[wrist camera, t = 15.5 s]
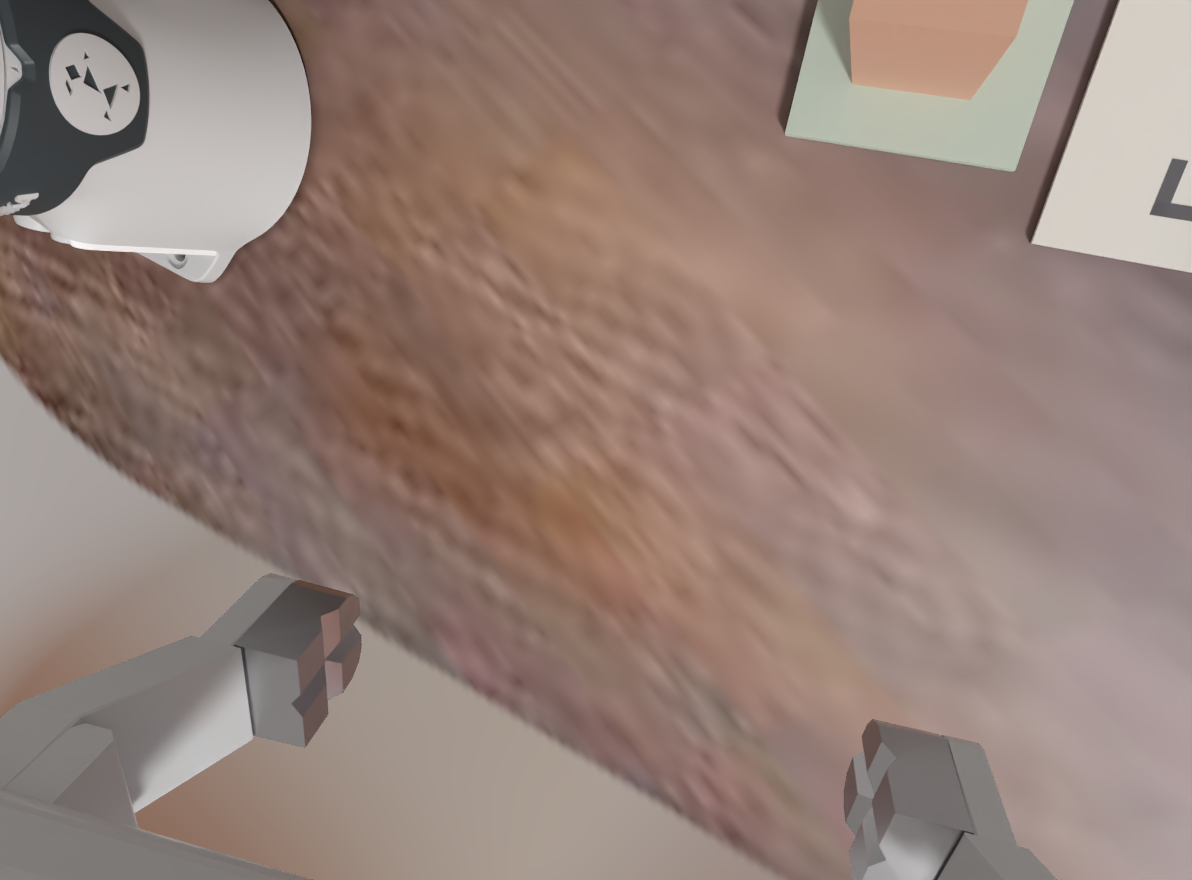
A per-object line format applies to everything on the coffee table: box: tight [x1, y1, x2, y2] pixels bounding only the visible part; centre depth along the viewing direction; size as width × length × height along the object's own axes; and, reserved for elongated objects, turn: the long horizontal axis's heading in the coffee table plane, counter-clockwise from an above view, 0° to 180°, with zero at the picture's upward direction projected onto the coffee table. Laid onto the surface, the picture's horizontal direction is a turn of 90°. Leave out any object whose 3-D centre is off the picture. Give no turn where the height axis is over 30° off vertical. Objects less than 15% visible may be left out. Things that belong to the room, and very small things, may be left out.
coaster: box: [785, 0, 1074, 172], centre depth 28 cm, size 9×9×1 cm
